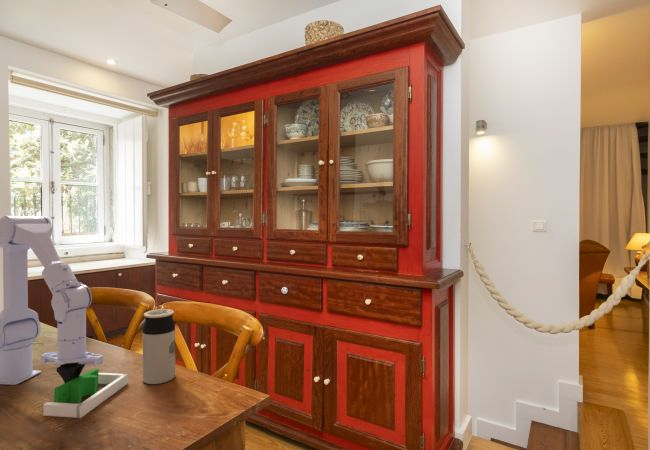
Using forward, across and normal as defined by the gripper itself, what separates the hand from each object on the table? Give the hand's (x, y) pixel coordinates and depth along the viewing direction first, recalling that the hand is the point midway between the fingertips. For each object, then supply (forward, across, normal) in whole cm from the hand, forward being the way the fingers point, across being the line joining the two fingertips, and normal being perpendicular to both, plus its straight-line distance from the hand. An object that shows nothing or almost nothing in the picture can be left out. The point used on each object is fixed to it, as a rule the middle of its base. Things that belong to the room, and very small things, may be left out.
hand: (72, 392), depth 90 cm
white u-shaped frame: (+1, +4, 0) cm, 5 cm away
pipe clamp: (+1, +2, 0) cm, 3 cm away
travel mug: (+1, +15, +12) cm, 19 cm away
